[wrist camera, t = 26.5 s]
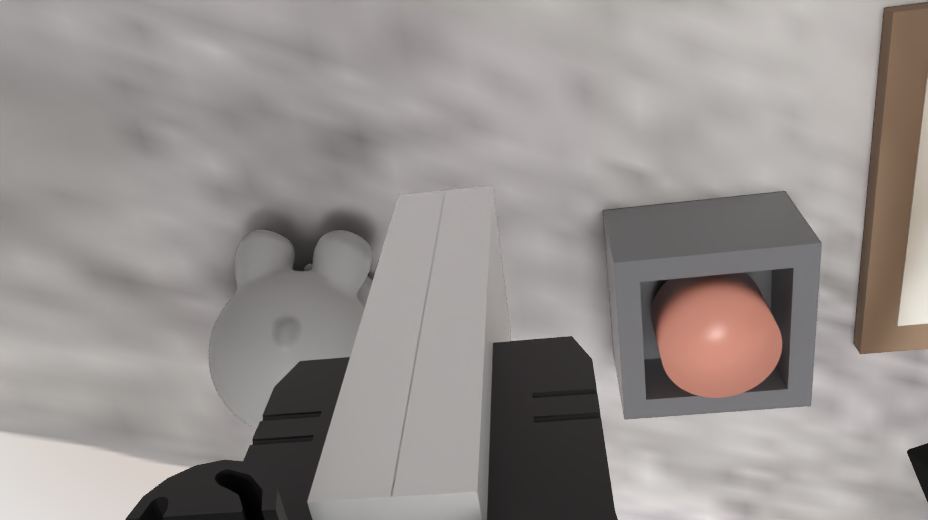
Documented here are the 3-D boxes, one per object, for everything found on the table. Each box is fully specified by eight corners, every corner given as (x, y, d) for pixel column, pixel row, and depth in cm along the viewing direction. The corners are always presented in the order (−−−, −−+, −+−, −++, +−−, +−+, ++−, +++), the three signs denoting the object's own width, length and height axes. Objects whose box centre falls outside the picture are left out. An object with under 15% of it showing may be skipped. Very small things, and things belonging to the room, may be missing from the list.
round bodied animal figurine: (274, 354, 45) (232, 500, 40) (226, 207, 36) (164, 372, 31) (401, 365, 45) (377, 513, 40) (387, 219, 36) (352, 388, 30)
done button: (652, 360, 37) (662, 401, 34) (648, 269, 35) (659, 306, 32) (761, 351, 36) (780, 393, 34) (764, 258, 34) (784, 294, 32)
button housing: (613, 354, 41) (624, 419, 36) (602, 210, 37) (613, 262, 33) (779, 341, 40) (810, 405, 35) (785, 191, 36) (821, 242, 32)
